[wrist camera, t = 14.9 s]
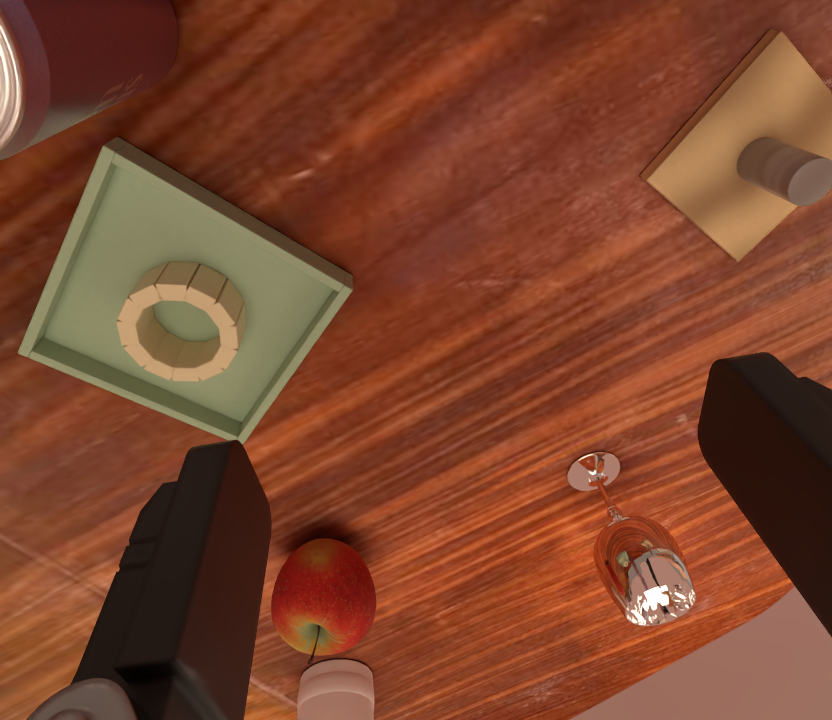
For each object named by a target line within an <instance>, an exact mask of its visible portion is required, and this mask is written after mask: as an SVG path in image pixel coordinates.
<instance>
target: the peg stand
mask: <svg viewBox="0 0 832 720" xmlns="http://www.w3.org/2000/svg"><path fill="white" fill-rule="evenodd" d="M640 177H641V178H642V179H643V180H644V181H646V182H647V183H648V184H649V185H650V186H651V187H652V188H654V189H655V190H656V191H657V192H658V193H659V194H660V195H661V196H663V197H664V198H665V199H666V200H667V201H668V202H669V203H670V204H672V205H673V206H674V207H675V208H676V209H677V210H678V211H680V212H681V213H682V214H683V215H684V216H685V217H686V218H687V219H689V220H690V221H691V222H692V223H693V224H694V225H695V226H696V227H698V228H699V229H700V230H701V231H702V232H703V233H704V234H706V235H707V236H708V237H709V238H710V239H711V240H712V241H713V242H715V243H716V244H717V245H718V246H719V247H720V248H721V249H723V250H724V251H725V252H726V253H727V254H728V255H729V256H731V257H732V258H733V259H735V260H736V261H740V260H741V259H742V258H743V257H744V256H745V255H746V254H747V253H748V252H749V251H750V250H751V249H752V248H754V247H755V246H756V245H757V244H758V243H759V242H760V241H761V240H762V239H763V238H764V237H765V236H766V235H767V234H768V233H769V232H770V231H772V230H773V229H774V228H775V227H776V226H777V225H778V224H779V223H780V222H781V221H782V220H783V219H784V218H785V217H786V216H787V215H788V214H789V213H791V212H792V211H793V210H794V209H795V208H796V207H797V206H807V205H810V204H813V203H815V202H817V201H819V200H820V199H821V198H823V197H824V196H825V195H826V194H827V193H828V192H829V190H830V189H831V188H832V92H831V91H830V90H829V88H828V87H827V86H826V85H825V83H824V82H823V81H822V80H821V79H820V77H819V76H818V75H817V74H816V72H815V71H814V70H813V69H812V67H811V66H810V65H809V64H808V63H807V61H806V60H805V59H804V58H803V56H802V55H801V54H800V53H799V51H798V50H797V49H796V48H795V46H794V45H793V44H792V43H791V42H790V40H789V39H788V38H787V37H786V35H785V34H784V33H783V32H782V31H779V30H769V31H768V32H767V33H766V34H765V36H764V37H763V38H762V39H761V40H760V41H759V42H758V43H757V44H756V46H755V47H754V48H753V49H752V50H751V51H750V52H749V53H748V55H747V56H746V57H745V58H744V59H743V60H742V61H741V62H740V64H739V65H738V66H737V67H736V68H735V69H734V70H733V71H732V73H731V74H730V75H729V76H728V77H727V78H726V79H725V80H724V82H723V83H722V84H721V85H720V86H719V87H718V88H717V89H716V90H715V92H714V93H713V94H712V95H711V96H710V97H709V98H708V99H707V101H706V102H705V103H704V104H703V105H702V106H701V107H700V108H699V110H698V111H697V112H696V113H695V114H694V115H693V116H692V117H691V119H690V120H689V121H688V122H687V123H686V124H685V125H684V126H683V128H682V129H681V130H680V131H679V132H678V133H677V134H676V135H675V136H674V138H673V139H672V140H671V141H670V142H669V143H668V144H667V145H666V147H665V148H664V149H663V150H662V151H661V152H660V153H659V154H658V156H657V157H656V158H655V159H654V160H653V161H652V162H651V163H650V165H649V166H648V167H647V168H646V169H645V170H644V171H643V172H642V174H641V175H640Z"/></svg>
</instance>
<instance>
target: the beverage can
mask: <svg viewBox="0 0 832 720" xmlns="http://www.w3.org/2000/svg"><path fill="white" fill-rule="evenodd" d="M177 44H178V29H177V22H176V17H175V13H174V10H173V7H172V4H171V2H170V0H0V160H3V159H6V158H8V157H10V156H12V155H14V154H16V153H18V152H20V151H22V150H24V149H26V148H28V147H30V146H33V145H35V144H37V143H39V142H41V141H43V140H45V139H47V138H49V137H51V136H53V135H55V134H57V133H59V132H61V131H63V130H65V129H67V128H69V127H71V126H73V125H75V124H77V123H79V122H81V121H83V120H85V119H87V118H89V117H91V116H93V115H95V114H97V113H99V112H101V111H103V110H105V109H107V108H109V107H111V106H113V105H115V104H117V103H119V102H121V101H124V100H126V99H128V98H130V97H132V96H134V95H136V94H138V93H140V92H142V91H144V90H146V89H148V88H150V87H152V86H153V85H155V84H157V83H158V82H159V81H160V80H161V79H162V78H163V77H164V76H165V75H166V74H167V72H168V71H169V69H170V68H171V66H172V64H173V61H174V58H175V55H176V51H177Z"/></svg>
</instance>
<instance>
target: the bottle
mask: <svg viewBox="0 0 832 720" xmlns="http://www.w3.org/2000/svg"><path fill="white" fill-rule="evenodd" d="M297 710H298V716H297V720H374V686H373V676H372V672H371V671H370V669H369V668H368V667H367V666H365V665H363V664H362V663H360V662H357V661H353V660H348V659H333V660H327V661H322V662H320V663H317V664H315V665H312V666H311V667H310V668H309V669H307V670H306V671H305V672H304V673H303V675H302V677H301V679H300V690H299V692H298V702H297Z"/></svg>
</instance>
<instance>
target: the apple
mask: <svg viewBox="0 0 832 720" xmlns="http://www.w3.org/2000/svg"><path fill="white" fill-rule="evenodd" d="M375 610H376V595H375V588H374V584H373V580H372V578H371V575H370V572H369V570H368V568H367V566H366V564H365V562H364V561H363V559H362V558H361V556H360V555H359V554H358V553H357V552H356V551H355V550H354V549H353V548H352V547H350V546H349V545H347V544H345V543H343V542H341V541H338V540H334V539H328V538H321V539H315V540H312V541H309V542H307V543H305V544H303V545H302V546H300V547H299V548H298V549H297V550H295V551H294V552H293V553H292V555H291V556H290V557H289V558H288V559H287V561H286V562H285V564H284V565H283V567H282V569H281V571H280V573H279V575H278V577H277V580H276V582H275V586H274V590H273V594H272V601H271V613H272V619H273V623H274V626H275V628H276V630H277V632H278V633H279V635H280V636H281V637H282V639H283V640H284V641H285V642H287V643H288V644H289V645H290V646H292V647H293V648H295V649H297V650H299V651H301V652H303V653H306V654H311V658H310V660H309V661H308V663H309V664H311V663H312V661H313V658H314V655H320V656H321V655H331V654H336V653H340V652H343V651H346V650H348V649H350V648H351V647H353V646H355V645H356V644H357V643H358V642H359V641H360V640H361V639H362V638H363V637H364V636H365V635H366V634H367V632H368V630H369V629H370V627H371V625H372V622H373V620H374V616H375Z"/></svg>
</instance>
